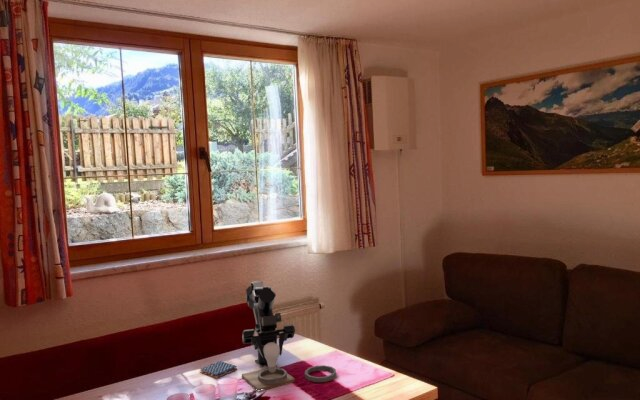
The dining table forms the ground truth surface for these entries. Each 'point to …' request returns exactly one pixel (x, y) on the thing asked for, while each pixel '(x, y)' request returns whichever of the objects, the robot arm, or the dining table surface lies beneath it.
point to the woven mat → (218, 369)
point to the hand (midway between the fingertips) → (272, 356)
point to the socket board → (267, 378)
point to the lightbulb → (271, 355)
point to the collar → (320, 379)
